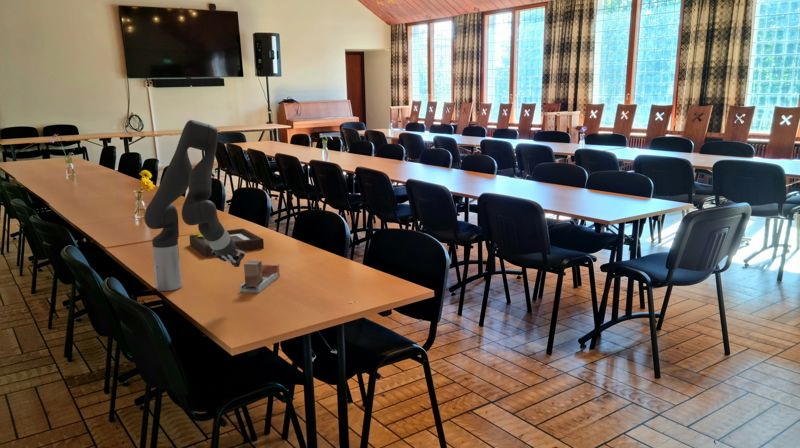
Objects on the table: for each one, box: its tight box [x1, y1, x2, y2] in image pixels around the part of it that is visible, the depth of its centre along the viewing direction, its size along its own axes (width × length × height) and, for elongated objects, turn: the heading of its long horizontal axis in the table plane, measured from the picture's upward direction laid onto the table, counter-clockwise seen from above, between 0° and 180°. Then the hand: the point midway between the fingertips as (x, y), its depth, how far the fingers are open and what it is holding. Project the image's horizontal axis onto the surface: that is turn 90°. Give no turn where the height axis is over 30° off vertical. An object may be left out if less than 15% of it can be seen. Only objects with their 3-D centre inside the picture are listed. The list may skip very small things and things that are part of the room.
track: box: [239, 263, 281, 294], centre depth 239 cm, size 22×8×5 cm, turn 170°
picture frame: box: [189, 228, 265, 258], centre depth 299 cm, size 28×7×30 cm
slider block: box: [243, 259, 263, 287], centre depth 233 cm, size 5×5×9 cm
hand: (237, 264), depth 218 cm, fingers closed
